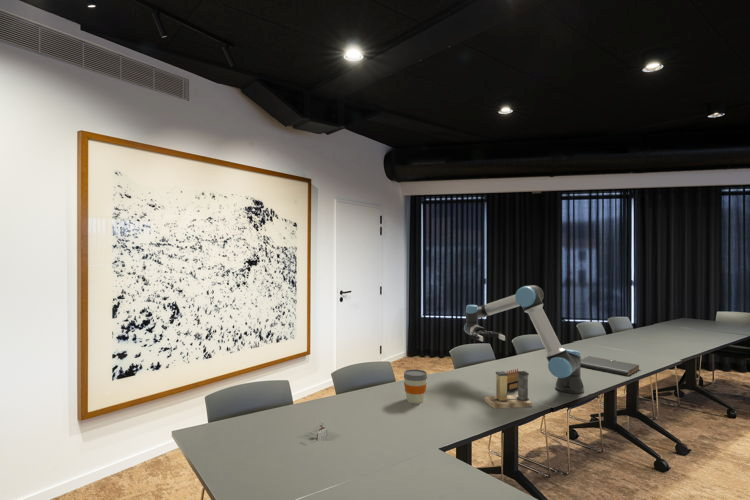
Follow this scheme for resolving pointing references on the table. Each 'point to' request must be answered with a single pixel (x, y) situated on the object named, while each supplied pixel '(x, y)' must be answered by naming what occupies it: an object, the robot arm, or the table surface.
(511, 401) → the tan and grey stand
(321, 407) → the table surface
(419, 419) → the table surface
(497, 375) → the brass leg
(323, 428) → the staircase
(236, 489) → the table surface
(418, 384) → the reusable coffee cup
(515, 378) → the ammunition clip
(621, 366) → the grey hardcover book
